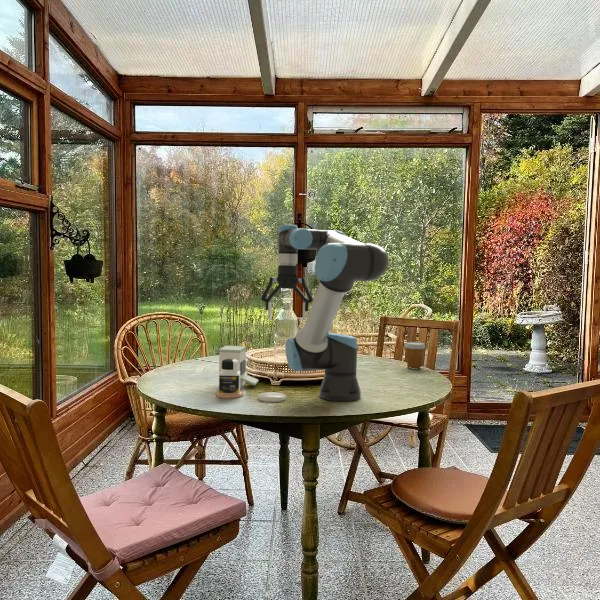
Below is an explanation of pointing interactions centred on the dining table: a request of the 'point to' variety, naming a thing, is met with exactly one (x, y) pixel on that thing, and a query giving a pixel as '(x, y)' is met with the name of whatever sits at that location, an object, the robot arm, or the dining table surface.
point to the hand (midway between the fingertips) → (286, 319)
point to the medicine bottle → (229, 377)
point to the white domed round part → (271, 397)
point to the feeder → (239, 355)
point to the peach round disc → (229, 395)
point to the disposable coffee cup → (414, 354)
